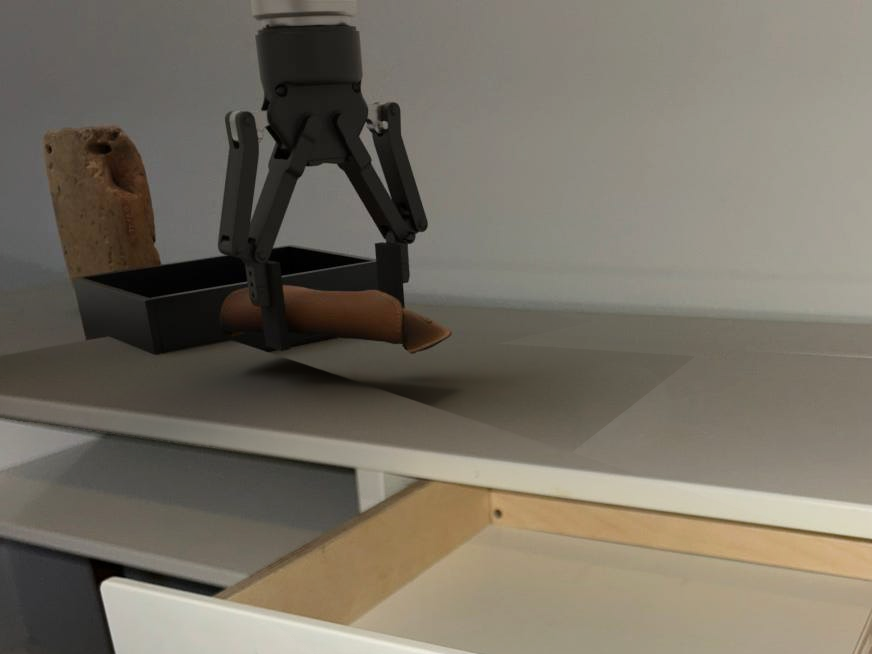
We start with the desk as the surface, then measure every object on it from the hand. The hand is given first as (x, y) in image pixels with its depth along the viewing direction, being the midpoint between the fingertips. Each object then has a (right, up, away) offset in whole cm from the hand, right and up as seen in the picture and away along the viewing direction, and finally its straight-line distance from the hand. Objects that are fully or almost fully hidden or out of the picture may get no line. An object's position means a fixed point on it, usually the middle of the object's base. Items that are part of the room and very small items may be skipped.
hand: (337, 336), depth 87 cm
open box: (-14, +7, +25) cm, 29 cm away
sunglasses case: (0, 0, 0) cm, 0 cm away
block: (-31, +14, +41) cm, 53 cm away
